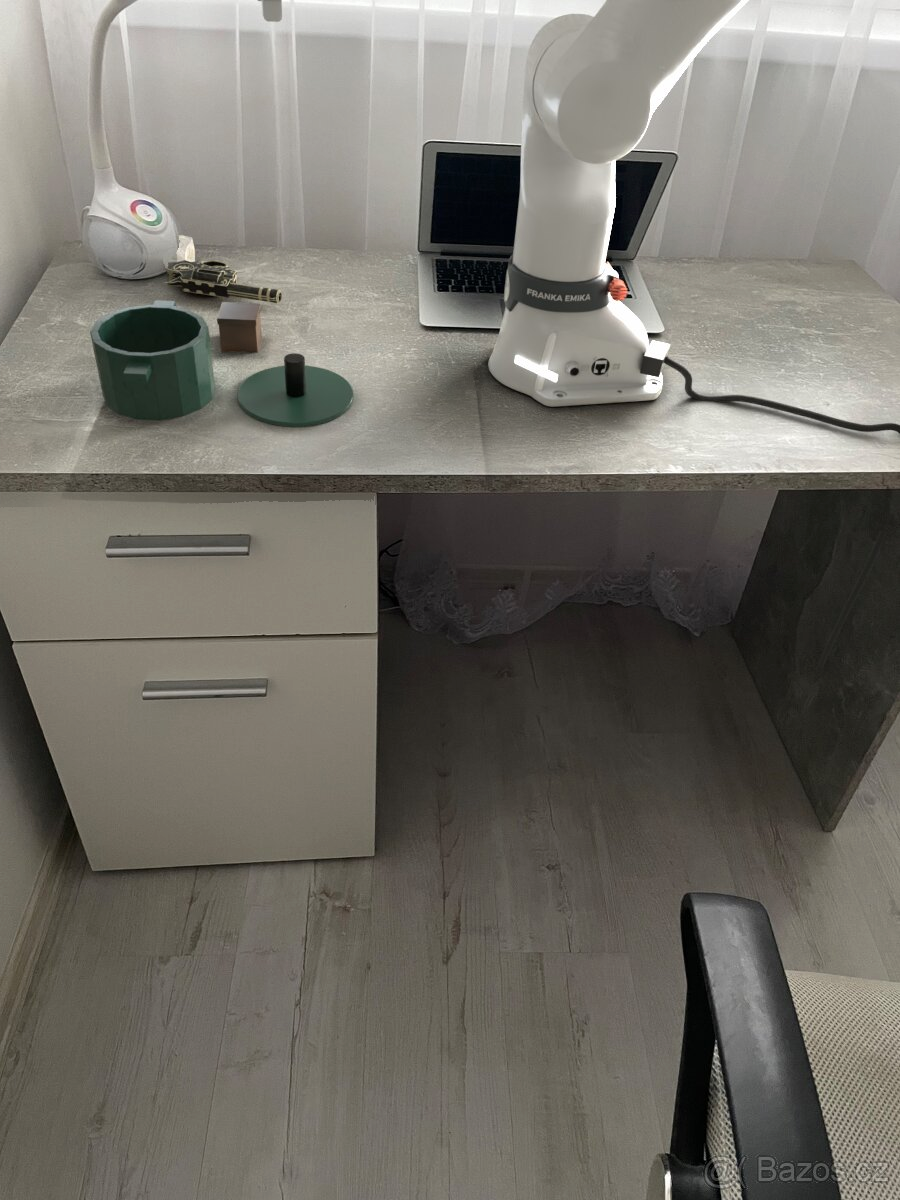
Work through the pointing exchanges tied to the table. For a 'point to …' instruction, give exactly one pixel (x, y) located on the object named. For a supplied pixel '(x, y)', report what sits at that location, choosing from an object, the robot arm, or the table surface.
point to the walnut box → (239, 327)
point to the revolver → (211, 276)
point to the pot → (154, 361)
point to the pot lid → (295, 394)
